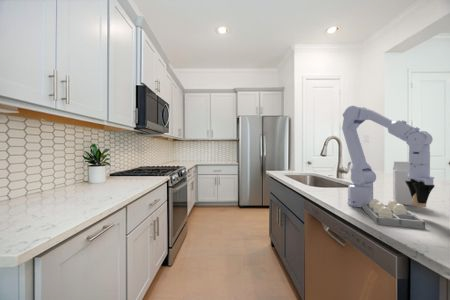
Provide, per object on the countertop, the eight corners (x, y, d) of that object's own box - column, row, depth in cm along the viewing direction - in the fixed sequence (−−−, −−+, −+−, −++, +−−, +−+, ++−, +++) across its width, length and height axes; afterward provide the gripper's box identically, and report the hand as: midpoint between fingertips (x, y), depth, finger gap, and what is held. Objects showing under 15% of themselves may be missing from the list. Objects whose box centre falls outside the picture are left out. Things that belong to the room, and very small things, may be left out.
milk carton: (416, 206, 93) (415, 162, 93) (395, 204, 97) (395, 161, 97) (412, 202, 99) (412, 161, 99) (393, 200, 103) (392, 161, 103)
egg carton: (376, 223, 72) (376, 217, 72) (362, 208, 90) (362, 203, 90) (425, 228, 68) (425, 221, 68) (400, 211, 85) (400, 206, 85)
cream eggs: (380, 221, 73) (380, 207, 73) (368, 209, 88) (368, 197, 88) (417, 225, 70) (417, 210, 70) (397, 211, 85) (397, 199, 84)
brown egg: (414, 206, 78) (414, 193, 77) (410, 203, 81) (410, 191, 81) (428, 207, 76) (428, 194, 76) (422, 204, 80) (423, 191, 80)
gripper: (445, 166, 70) (445, 207, 70) (423, 163, 84) (422, 198, 84) (418, 165, 73) (418, 205, 73) (400, 162, 86) (400, 196, 86)
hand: (419, 201), depth 79 cm, fingers closed on brown egg, 4 cm apart
